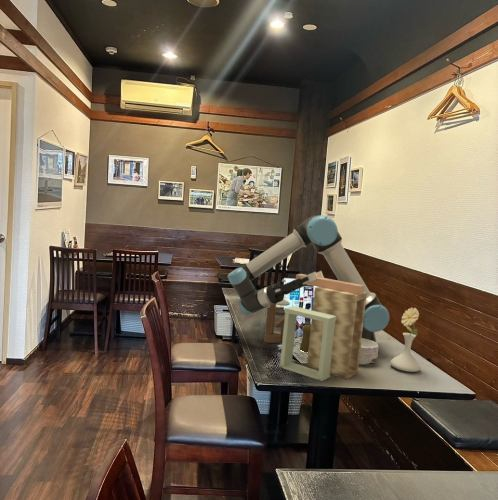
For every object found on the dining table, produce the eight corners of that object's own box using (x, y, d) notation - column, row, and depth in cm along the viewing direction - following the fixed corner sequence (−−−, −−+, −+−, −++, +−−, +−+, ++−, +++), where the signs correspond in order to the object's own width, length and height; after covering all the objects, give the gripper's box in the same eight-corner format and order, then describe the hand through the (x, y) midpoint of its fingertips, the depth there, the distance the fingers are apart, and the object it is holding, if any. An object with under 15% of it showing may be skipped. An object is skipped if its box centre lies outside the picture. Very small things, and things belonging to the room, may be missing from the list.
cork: (310, 354, 183) (313, 327, 182) (296, 350, 186) (299, 324, 185) (316, 351, 188) (319, 325, 187) (303, 347, 191) (305, 322, 190)
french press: (280, 327, 220) (285, 277, 218) (295, 334, 211) (301, 281, 208) (264, 328, 215) (269, 277, 213) (279, 335, 205) (284, 282, 203)
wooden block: (289, 344, 194) (293, 303, 192) (264, 342, 193) (268, 301, 191) (287, 341, 197) (291, 301, 196) (263, 340, 196) (267, 299, 195)
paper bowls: (348, 352, 191) (350, 333, 190) (382, 362, 181) (385, 343, 180) (330, 359, 179) (332, 340, 178) (366, 370, 169) (368, 350, 169)
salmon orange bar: (295, 282, 173) (296, 274, 173) (300, 281, 176) (301, 273, 176) (359, 294, 158) (360, 286, 158) (363, 293, 161) (364, 285, 161)
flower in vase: (387, 362, 181) (394, 301, 179) (416, 365, 180) (423, 304, 178) (394, 374, 168) (402, 308, 166) (425, 377, 167) (434, 312, 165)
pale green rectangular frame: (279, 367, 165) (285, 308, 163) (287, 363, 170) (293, 306, 168) (322, 381, 155) (329, 318, 153) (329, 376, 160) (336, 316, 157)
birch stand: (306, 366, 168) (314, 287, 165) (318, 360, 176) (327, 285, 173) (346, 379, 159) (356, 295, 156) (357, 372, 167) (366, 292, 164)
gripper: (285, 301, 188) (332, 282, 176) (262, 306, 174) (312, 286, 162) (279, 284, 190) (325, 264, 177) (256, 288, 176) (304, 266, 163)
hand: (319, 274), depth 169 cm, fingers closed on salmon orange bar, 4 cm apart
